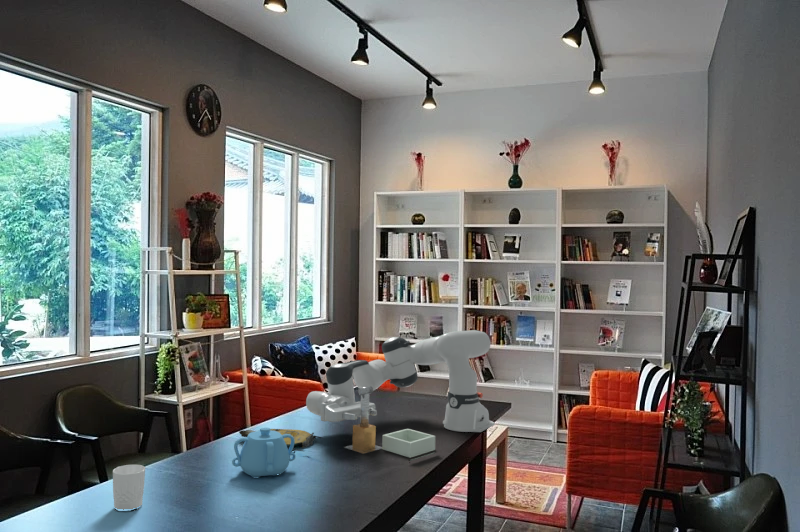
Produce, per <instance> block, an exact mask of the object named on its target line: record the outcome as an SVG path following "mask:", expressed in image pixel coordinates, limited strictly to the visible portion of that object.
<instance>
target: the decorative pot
mask: <svg viewBox="0 0 800 532" xmlns="http://www.w3.org/2000/svg"><path fill="white" fill-rule="evenodd" d="M271 429H272V428H270V427H261V428H259V430H255V431H256V432H251V433H249V434H248V436H247V437H240V438H238V439H237V440H236V441H235V442H234V444H233V450H234V452H235V453H234V454H235V455H236V457H234V458H233V459H232V462H231V464H232V466H234V467H235V468H237V467H240V468H241V469H242V472H244V473H245V474H247V475H249V476H252V477H259V476H260V477H265V476H267V477H268V476H274V475H277V474H280V473H281V474H283V473H285V471H286V470H287V469H288V467H289V465H290V462H293V461H295V460H296V457H297V456H296V452H292V450H293V447H294V443H295V440H294V437H293V436H291V435H289V434H284V435H281V434H280V433H279V432H277V431H272V430H271ZM287 437H288V438H290V439H291V444H290V447H289V450H288V448H287V445H286V443H285V441H284V438H287ZM242 442H243V445H242V447H241V450H240V452H239V448H238V447H239V446H238V445H239V444H240V443H242ZM236 461H237V462H236ZM252 477H251V478H252ZM260 477H259V478H260Z"/></svg>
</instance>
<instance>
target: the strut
mask: <svg viewBox="0 0 800 532" xmlns="http://www.w3.org/2000/svg"><path fill="white" fill-rule="evenodd" d="M373 392H374V390H373V388H372V387H371V386H369V387H363V388H358V389H357V394H358V395H359V396H360V401H361V410H360V417H359V418H360V419H359V420H360V421H359V423H358V424H353V425H352V442H351V443H352V444H351V445H352V447H353V448H356V449H359V450H362V451H365V450H369V449H372V448H375V445H376V432H377V429H376V428H377V426H376V425H374V424H370V415H369V402H370V394H372V393H373Z"/></svg>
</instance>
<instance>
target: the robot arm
mask: <svg viewBox="0 0 800 532" xmlns="http://www.w3.org/2000/svg"><path fill="white" fill-rule="evenodd" d="M410 343H411V341H410V340H406V339H405V338H404V337H401V336H392V337H389V338H388V339H386V340H385V341H384V342H383V343H381V350H382V353H383V356H384V360H385V361H384V360H383V359H374V360H370V361H368V360H365V359H364V360H363V359H356V360H351V361H346V362H343V363H334V364H332V365H330V366H329V367H328V368H327V370H326V372H325V376H326V382H327V389H328V392H326V391H318V390H315V391H311V392H309V393H308V394H307V397H306V400H305V405H306V408H307V410H308V411H309V412H310V413H312V414H314V415H316V416H319V417H320V422H321V421H322V422H329V423H337V422H343V421H349V420H351V421H355V420H356V421H357V420H358V418H360V410H361V400H360V401H356V398H355V396H356V395H355V387H354V384H355V386H356V387H357V388H358V389H359V388H363V387H369V386H371V387H372V388H373V391H375V390H376V389H378V388H379V387H380V386H382V385H383V384H384V383H385V382H386V381H388V380H389V384H390V385H394V387H395V386H396V387H397V388H400V389H401V388H408V387H411V386H413V385H414V384H415V383H416V382H417V381H418V379H419V377H418V376H419V375H418V371H417V369H416V366H415V364H416V365H419V366H420V365H421V366H430V365H435V364H436V365H437V364H442V363H445V364H446V365H447V366H446V367H447V369H448V370H447V371H448V383H449V384H448V392H447V401H448V402H447V403H446V405H445V414H444V420H442V425H443V428H445V429H447V430H450V431H453V432H462V433H464V432H465V433H468V432H469V433H470V432H471V433H482V432H483V431H487V430H488V429H489V428H491V427H493V426H495V422H494V421H492V420H490V414H489V410H488V409H487V407H485V406H484V405H483V404H481V402H480V399H479V398H481V399H483V396H484V394H483V392H479V391H477V389H478V386H477V385H478V384H477V383H478V375H477V372H476V371H475V370H474V369H472V367H471V364H470V359H473V358H478V357H481V356H484V355H485V354H487V353H488V352H489V351H490V348H491V339H490V337H489V335H488V334H487V333H486V332H484V331H481V330H477V329H471V330H458V331H457V330H456V331H449V332H447V333H443V334H441V335H438V336H434V337H429V338H426V339H423V340H420V341H418V342H416V343H414V344H411V345H410ZM377 415H378V411H377V409H376V404H375V403H374V402H370V401H369V416H373V417H375V416H377Z"/></svg>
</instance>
